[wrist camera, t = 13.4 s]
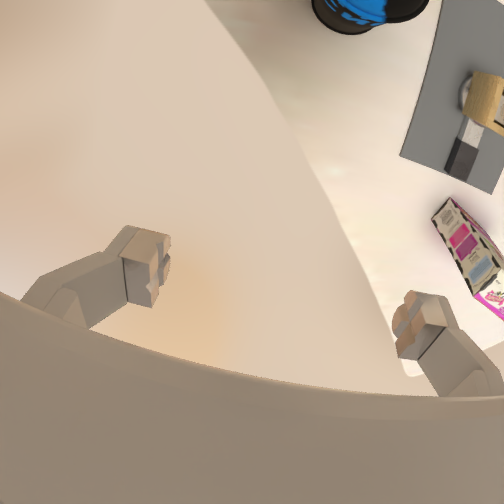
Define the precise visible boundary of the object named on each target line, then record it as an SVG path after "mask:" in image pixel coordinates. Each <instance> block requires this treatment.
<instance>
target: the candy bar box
mask: <svg viewBox="0 0 504 504" xmlns="http://www.w3.org/2000/svg"><path fill="white" fill-rule="evenodd" d="M431 221H432V222H433V224H434V225H435V227H436V228H437V230H438V232H439V234H440V235H441V237H442V239H443V240H444V242H445V244H446V246H447V247H448V249H449V251H450V253H451V254H452V256H453V258H454V260H455V262H456V264H457V266H458V268H459V270H460V272H461V274H462V275H463V277H464V279H465V281H466V283H467V285H468V288H469V289H470V292H471V294H472V296H473V297H474V298H475V299H476V300H478V301H479V302H480V303H482V304H483V305H484V306H486V307H487V308H488V309H489V310H491V311H492V312H493V313H494V314H496V315H497V316H498V317H499V318H500V319H502V320H503V321H504V257H503V255H502V254H501V252H500V251H499V249H498V248H497V246H496V245H495V244H494V242H493V241H492V240H491V238H490V237H489V235H488V234H487V233H486V232H485V231H484V230H483V229H482V228H481V227H480V226H479V225H478V224H477V223H476V222H475V221H474V220H473V219H472V218H471V217H470V216H469V215H468V214H467V213H466V212H465V211H464V210H463V209H462V208H461V207H460V206H459V205H458V204H457V203H456V202H455V201H454V200H453V199H452V198H449V199H448V201H447V202H446V203H445V204H444V205H443V207H442V208H441V209H440V210H439V211H438V212H437V213H436V214H435V216H434V217H433V218H432V220H431Z"/></svg>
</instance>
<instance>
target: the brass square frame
mask: <svg viewBox="0 0 504 504" xmlns="http://www.w3.org/2000/svg"><path fill="white" fill-rule="evenodd" d="M502 95H503V96H504V79H503V78H501V77H500V76H496V75H492V74H488V73H483V72H479V71H474V73H473V77H472V81H471V84H470V88H469V91H468V94H467V98H466V101H465V104H464V107H463V111H462V114H464V115H466V116H467V117H469V118H471V119H473V120H475V121H477V122H478V123H480V124H482V125H484V126H486V127H487V128H489V129H491V130H492V131H494V132H496V133H497V134H499V135H501V136H503V137H504V125H502V124H501V123H499V122H497V121H495V120H494V118H495V115H496V112H497V109H498V106H499V102H500V99H501V96H502ZM493 121H494V122H493Z"/></svg>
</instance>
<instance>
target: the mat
mask: <svg viewBox="0 0 504 504" xmlns="http://www.w3.org/2000/svg"><path fill="white" fill-rule="evenodd" d="M474 71H479V72H483V73H488V74H492V75H496V76H500V77H501V78H503V79H504V5H502V4H501V3H500V2H498V1H497V0H443V1H442V6H441V11H440V16H439V21H438V26H437V30H436V34H435V39H434V43H433V47H432V51H431V55H430V59H429V63H428V67H427V70H426V74H425V77H424V81H423V84H422V88H421V91H420V95H419V98H418V101H417V105H416V108H415V111H414V114H413V117H412V120H411V123H410V126H409V129H408V132H407V135H406V138H405V141H404V144H403V147H402V150H401V152H400V155H399V156H400V157H403V158H406V159H409V160H411V161H414V162H417V163H419V164H422V165H424V166H427V167H429V168H432V169H434V170H437V171H439V172H442V173H444V174H447V175H449V174H448V173H447V172H446V171H445V170H444V167H445V165H446V162H447V160H448V157H449V155H450V152H451V149H452V147H453V144H454V141H455V139H456V137H458V134H459V131H460V128H461V125H462V123H463V120H464V117H465V116H464V114H462V111H461V109H460V106H459V102H458V91H459V87H460V85H461V83H462V81H463V80H464V79H465V78H466V77H468V76H469V75H472V74H473V73H474ZM477 149H479V152H478V155H477V157H476V160H475V162H474V165H473V167H472V170H471V172H470V174H469V177H468V179H467V181H466V182H465V181H463V182H465V183H467V184H470V185H472V186H474V187H476V188H478V189H480V190H482V191H485V192H487V193H489V194H491V195H492V192H493V190H494V188H495V186H496V184H497V181H498V179H499V177H500V174H501V172H502V170H503V167H504V137H503V136H501V135H499V134H497V133H496V132H494V131H492V130H491V129H489V128H484V130H483V133H482V136H481V139H480V142H479V144H478V147H477ZM449 176H451V175H449ZM451 177H453V176H451ZM454 178H456V177H454ZM456 179H458V178H456ZM458 180H460V179H458ZM461 181H462V180H461Z"/></svg>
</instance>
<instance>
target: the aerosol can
mask: <svg viewBox="0 0 504 504" xmlns="http://www.w3.org/2000/svg"><path fill="white" fill-rule="evenodd" d="M311 2H312V8H313V10H314V13H315V14H316V16H317V18H318V19H319V20H320V21H321V22H322V23H323V24H324V25H325V26H326V27H328V28H329V29H331V30H333V31H335V32H338V33H341V34H345V35H358V34H362V33H365V32H367V31H369V30H371V29H372V28H373V27H376V26H379V25H382V24H386V23H401V22H405V21H408V20H411V19H413V18H414V17H416V16H418V15H419V14H420V13H421V12H422V11H423V10H424V9H425V7H426V6H427V4H428V2H429V0H311Z"/></svg>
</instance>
